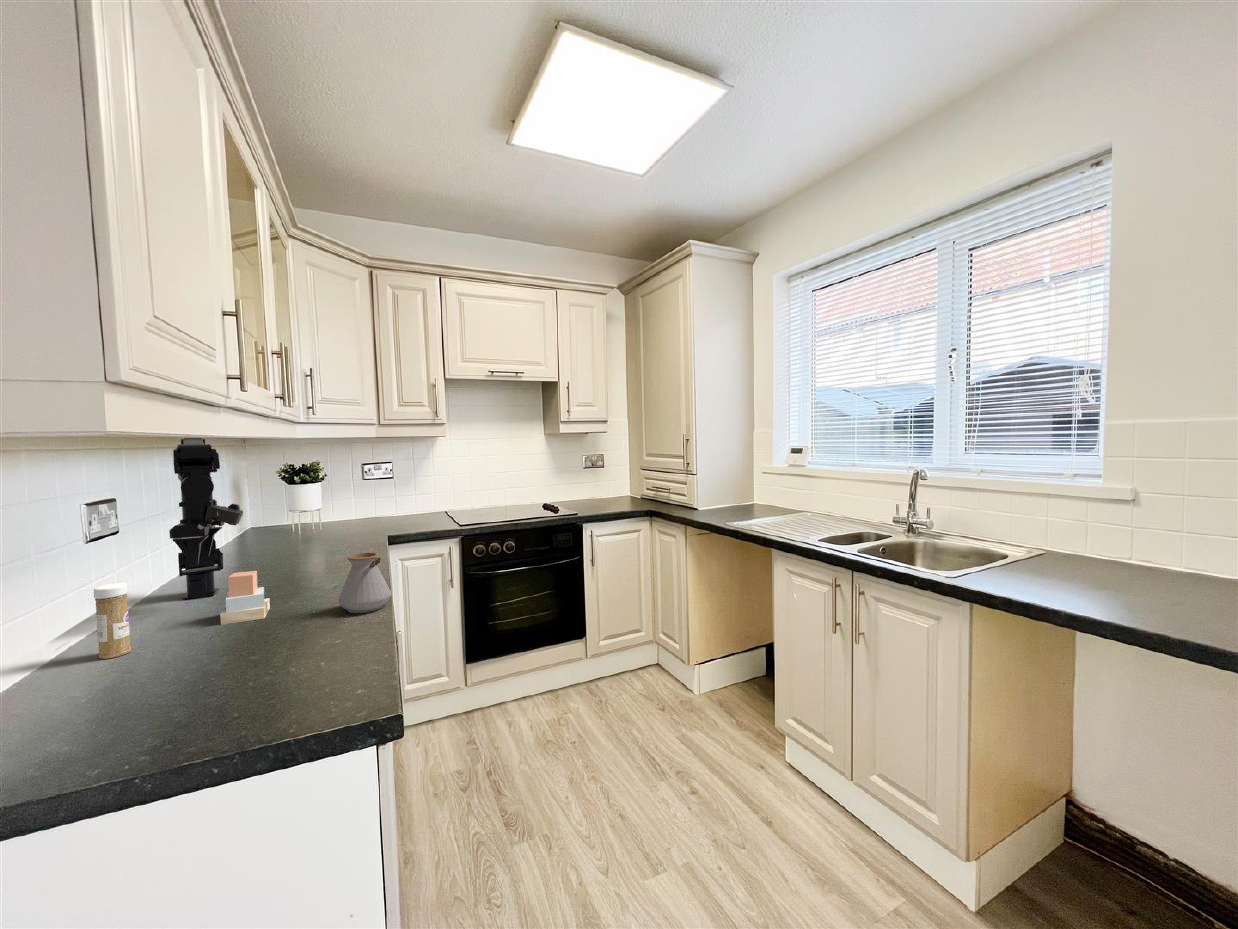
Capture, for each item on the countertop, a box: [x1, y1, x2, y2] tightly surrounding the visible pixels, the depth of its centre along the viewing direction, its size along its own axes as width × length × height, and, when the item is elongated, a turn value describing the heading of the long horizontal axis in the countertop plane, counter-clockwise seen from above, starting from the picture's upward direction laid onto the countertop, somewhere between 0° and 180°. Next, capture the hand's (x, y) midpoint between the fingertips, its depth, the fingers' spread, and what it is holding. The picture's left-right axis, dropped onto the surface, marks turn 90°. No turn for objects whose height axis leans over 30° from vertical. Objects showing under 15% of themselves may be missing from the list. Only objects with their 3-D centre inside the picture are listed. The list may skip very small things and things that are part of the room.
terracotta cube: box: [227, 570, 259, 597], centre depth 116 cm, size 4×4×4 cm
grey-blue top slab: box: [225, 586, 265, 613], centre depth 117 cm, size 7×7×3 cm
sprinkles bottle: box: [93, 582, 132, 660], centre depth 96 cm, size 5×5×13 cm
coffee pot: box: [338, 552, 392, 614], centre depth 118 cm, size 21×12×15 cm, turn 39°
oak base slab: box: [220, 597, 271, 626], centre depth 117 cm, size 8×8×3 cm
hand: (200, 561), depth 121 cm, fingers open, 9 cm apart
